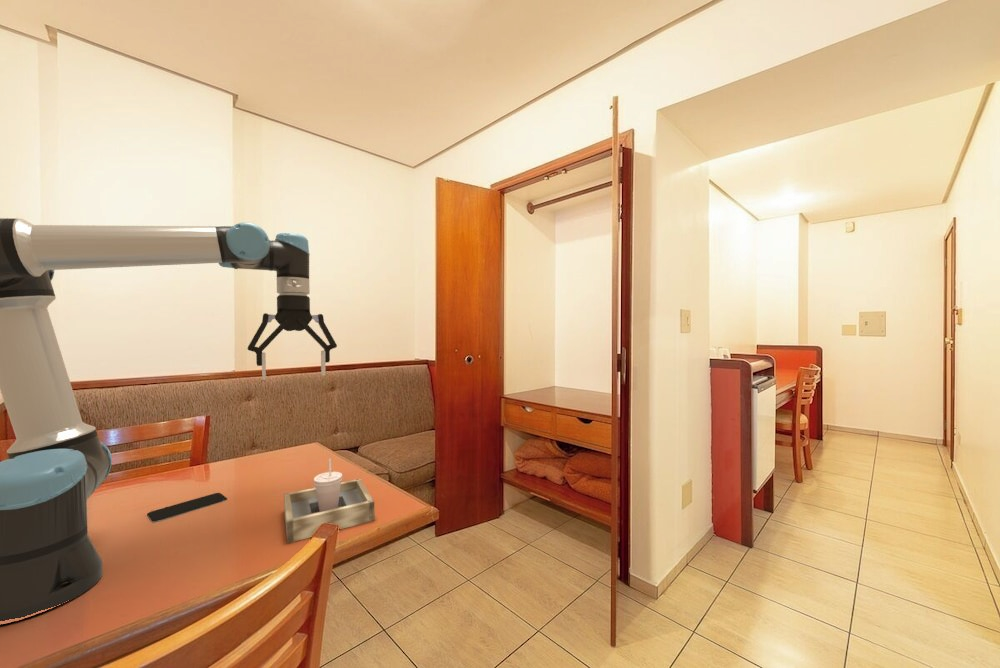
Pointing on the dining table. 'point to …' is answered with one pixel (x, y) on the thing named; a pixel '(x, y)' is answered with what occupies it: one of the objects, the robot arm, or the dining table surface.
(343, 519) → the socket box
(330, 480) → the smoothie
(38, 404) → the robot arm
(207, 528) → the dining table surface
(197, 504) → the smartphone
